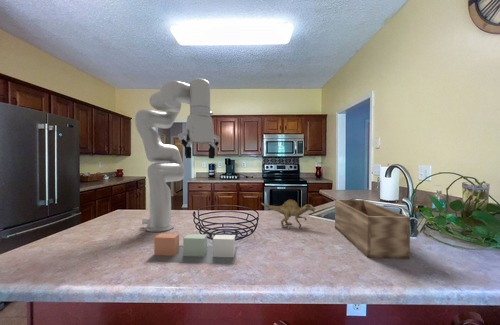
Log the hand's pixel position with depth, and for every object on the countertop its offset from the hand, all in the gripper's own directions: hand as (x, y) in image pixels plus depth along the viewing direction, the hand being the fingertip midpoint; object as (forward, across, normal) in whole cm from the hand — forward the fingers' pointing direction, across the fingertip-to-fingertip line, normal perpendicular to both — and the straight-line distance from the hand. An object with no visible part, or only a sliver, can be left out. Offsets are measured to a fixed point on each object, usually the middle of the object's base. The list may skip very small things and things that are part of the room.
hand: (200, 158), depth 81 cm
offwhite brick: (+33, -2, +13) cm, 36 cm away
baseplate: (+34, +5, +6) cm, 35 cm away
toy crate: (+34, -55, +38) cm, 75 cm away
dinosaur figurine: (+34, -46, +4) cm, 58 cm away
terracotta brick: (+33, +12, -1) cm, 35 cm away
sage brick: (+33, +5, +6) cm, 34 cm away
